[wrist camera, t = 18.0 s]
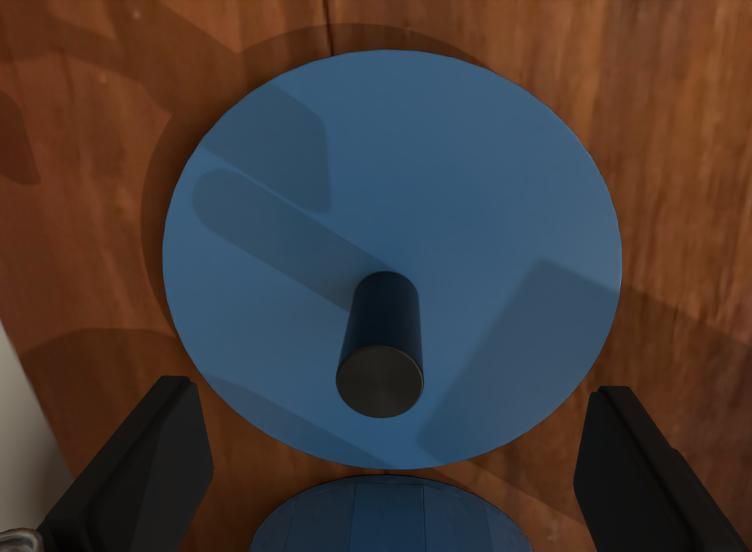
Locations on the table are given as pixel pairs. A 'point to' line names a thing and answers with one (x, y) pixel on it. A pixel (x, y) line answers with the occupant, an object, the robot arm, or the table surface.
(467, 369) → the lid
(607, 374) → the table surface
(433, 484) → the pot
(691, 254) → the table surface
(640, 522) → the robot arm
